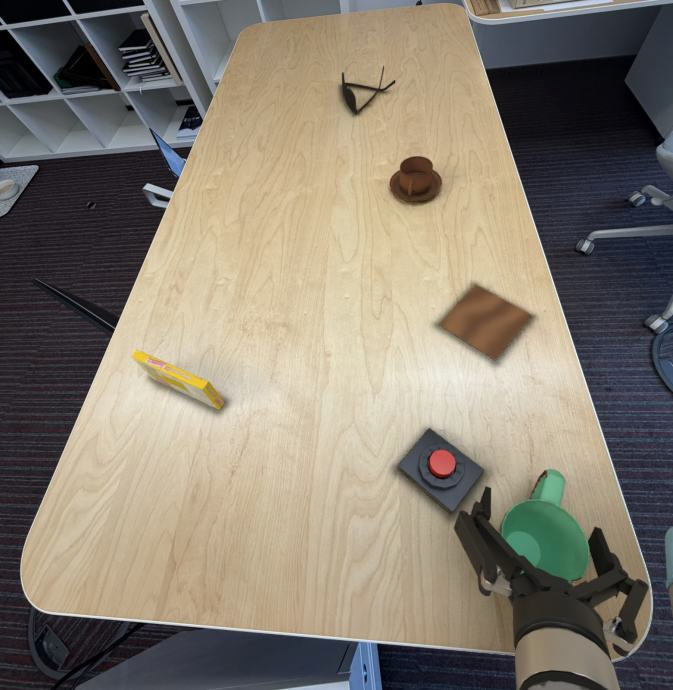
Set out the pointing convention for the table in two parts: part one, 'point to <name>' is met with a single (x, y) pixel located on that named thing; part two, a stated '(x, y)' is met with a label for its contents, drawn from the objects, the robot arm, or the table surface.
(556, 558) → the mug
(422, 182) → the cup and saucer
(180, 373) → the candy box
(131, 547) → the table surface
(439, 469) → the stop button
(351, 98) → the sunglasses
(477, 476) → the control block
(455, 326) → the brown pad
